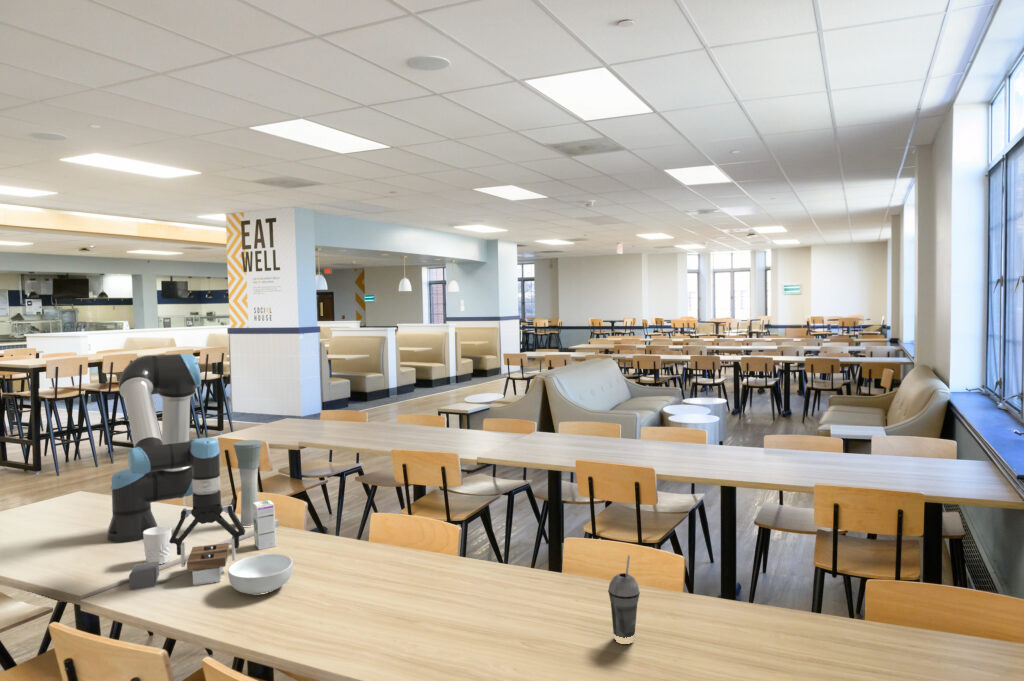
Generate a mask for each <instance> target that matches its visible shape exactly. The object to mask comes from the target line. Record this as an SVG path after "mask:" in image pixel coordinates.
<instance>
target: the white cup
mask: <svg viewBox="0 0 1024 681" xmlns="http://www.w3.org/2000/svg"><path fill="white" fill-rule="evenodd" d="M172 528H173V527H171V526H167V525H160V526H157V527H153V528H150V529H147V530H145V531H144V532H143V538H144V539H143V548H144V556H145V563H150V562H159V564H161V563H164V562H167V561H169V560H170V559H171V560H172V556H171V555H172V544H173V543H170V542H169V541H170V539H171V537H172V535H173V532H172V530H173V529H172ZM171 560H170V561H171ZM170 561H169V562H170ZM167 563H168V562H167Z"/></svg>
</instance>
